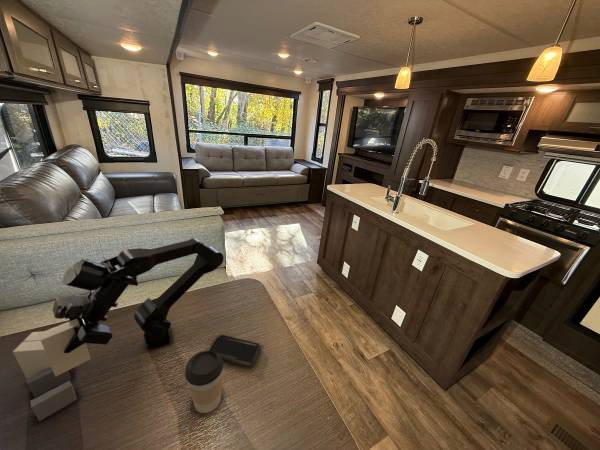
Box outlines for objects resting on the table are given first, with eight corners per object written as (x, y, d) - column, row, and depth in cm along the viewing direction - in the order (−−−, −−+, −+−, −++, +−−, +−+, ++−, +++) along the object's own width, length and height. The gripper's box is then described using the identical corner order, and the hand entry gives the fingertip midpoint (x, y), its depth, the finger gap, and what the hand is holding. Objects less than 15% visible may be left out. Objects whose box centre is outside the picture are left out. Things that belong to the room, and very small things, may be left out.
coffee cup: (204, 426, 61) (200, 386, 55) (181, 403, 65) (175, 364, 59) (232, 395, 68) (230, 357, 62) (209, 376, 72) (206, 339, 66)
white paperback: (88, 352, 68) (77, 318, 63) (91, 359, 66) (79, 324, 62) (53, 369, 63) (38, 333, 58) (55, 376, 61) (40, 340, 57)
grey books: (69, 374, 69) (63, 360, 67) (77, 399, 64) (71, 385, 62) (33, 392, 64) (26, 378, 62) (39, 421, 59) (31, 407, 57)
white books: (74, 360, 73) (62, 330, 68) (59, 380, 68) (45, 349, 63) (46, 362, 72) (32, 332, 67) (28, 383, 66) (12, 351, 61)
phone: (219, 334, 85) (260, 344, 83) (219, 336, 85) (260, 346, 83) (207, 353, 78) (252, 365, 75) (207, 356, 78) (252, 367, 76)
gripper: (65, 269, 64) (19, 323, 61) (82, 305, 54) (28, 374, 50) (108, 281, 73) (70, 329, 70) (130, 314, 63) (87, 373, 59)
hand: (64, 348), depth 62 cm, fingers closed on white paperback, 3 cm apart
